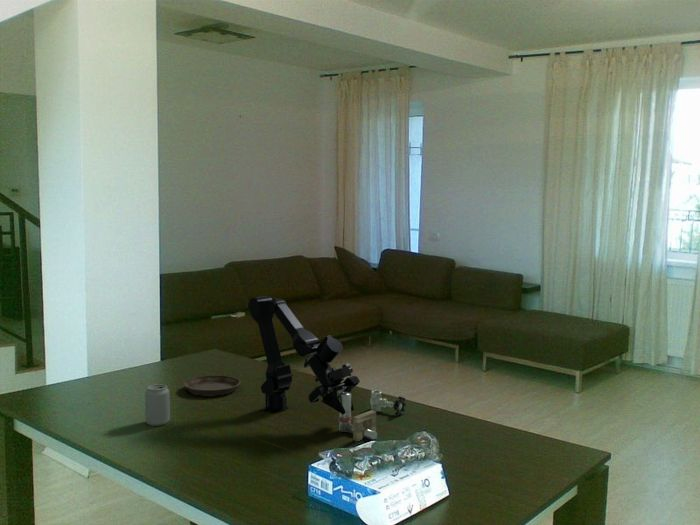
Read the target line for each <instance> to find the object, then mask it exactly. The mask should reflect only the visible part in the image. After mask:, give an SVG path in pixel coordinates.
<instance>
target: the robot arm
mask: <svg viewBox="0 0 700 525" xmlns="http://www.w3.org/2000/svg"><path fill="white" fill-rule="evenodd" d="M247 307H248V311H249V313H250V317H251V318H252V319H253V320H254V321H255V322H256V324H257V325H258V329H259V333H260V338H261V342H262V346H263V350H264V354H265V358H266V362H267V367H266V371H265V378H266V379H265V381H264V382H263V383H262V384H261V386H260V390H261V393H262V394H264V396H265V397H264V398H265V406H264V407H263V408H262V410H263V411H267V412H272V413H281V412H282V411H284V410H287V409H288V408H289V406H288V404H287V403H288V402H287V400H288V399H287V398H288V397H287V395H286V393H287V392H286V391H290V387H291V384H292V382H293V373H292V370H291V365H290V364H286V363H285V362H284V361H283V359H282V355H281V351H280V346H279V342H278V338H277V334H276V331H275V326H274V322H273V319H274V315H275V316H276V318H277V320H278V321H279V322H280V323H281V325H282V326H283V327H284V329H285V330H286V332H287V333H288V334H289V335H290V337H291V339H292V343H291V344H292V346H293V348H294V350H295V352H296V354H297V355H298V356H300V357H306V356H309V357H308V358H305V359H304V364H303V367H304V368H310V369H311V371H312V373H313V374H314V375H315V377H316V378H315V379H314V381H315V383H319V384H320V385H319V386H316V387H314V389H313V390H312V391H311V392H310V393H309V394H308V400H309V403H310V404H311V405H313V404H316V403H318V402H319V401H320V397H321V399H322V400H321V401H320V403H321V404H325V405H326V406H328V407H330V408H332V409H334V410H335V411H337V412H338V413H339V414H340V413H341V414H345V410H344V408H343V406H342V405H341V403H340V393H341V392H350V393H351V394H352V391H353V390H354V389H355V388H356V387H357V386H358V385H359V384H360V382H361V380H360V379H359V377H358V376H356V375H352V373H353V371H354V370H353V366H352V365H351V364H350V362H348V363H345V364H342V365H341V367H340V368H336V367H335V366H333V367H332V365H331V364H330V363H332V362H333V361H335V359H336V358H337V357H338V356H339V355H340V354H341V352H343V349H344V347H343V344H342V343H341V341H339V340H338V339H337V338H334V337H332V335H331V334H330V335H326V336H324V337H323V339H322V340H320V339H319V338H318V337H316V335H315V334H313V333H312V332H311V331H309V330H308V329H306V328H304V325H302V324H301V323H300V321H299V320H298V318H297V317H296V315H295V314H294V313H293V312H292V310H291V309H290V308H289V306H288V305H287V301H286V300H285V299H282V298H272V297H270V296H269V295H265V296H264V295H262V296H256V297H251V298H250V299H249V301H248V304H247ZM338 394H339V395H338ZM354 410H355V408H354V404H353V398H352V397H351V412H354Z"/></svg>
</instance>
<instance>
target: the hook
mask: <svg viewBox="0 0 700 525" xmlns="http://www.w3.org/2000/svg"><path fill="white" fill-rule="evenodd" d="M339 395H340V399H339V401H340V403H341V405H342V406H343V408H344V410H345V414H341V413H340V412H339V416H338V417H337V420H338V422H339V423H338V425H339V426H338V428H339V430H338V432H340V431H341V432H349V433H350V434H351V433H352V434H353V424H352V421H353V416H352V411H351V398H352V392H351V393H350V392H341V393H340V394H339ZM341 432H340V433H341ZM378 436H379V435H378V432H377V431H376V432H375V431H372V430H368V429H367V428H365V427H363V438H367V439H370V440H373V439H376V440H377V438H378Z"/></svg>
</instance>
